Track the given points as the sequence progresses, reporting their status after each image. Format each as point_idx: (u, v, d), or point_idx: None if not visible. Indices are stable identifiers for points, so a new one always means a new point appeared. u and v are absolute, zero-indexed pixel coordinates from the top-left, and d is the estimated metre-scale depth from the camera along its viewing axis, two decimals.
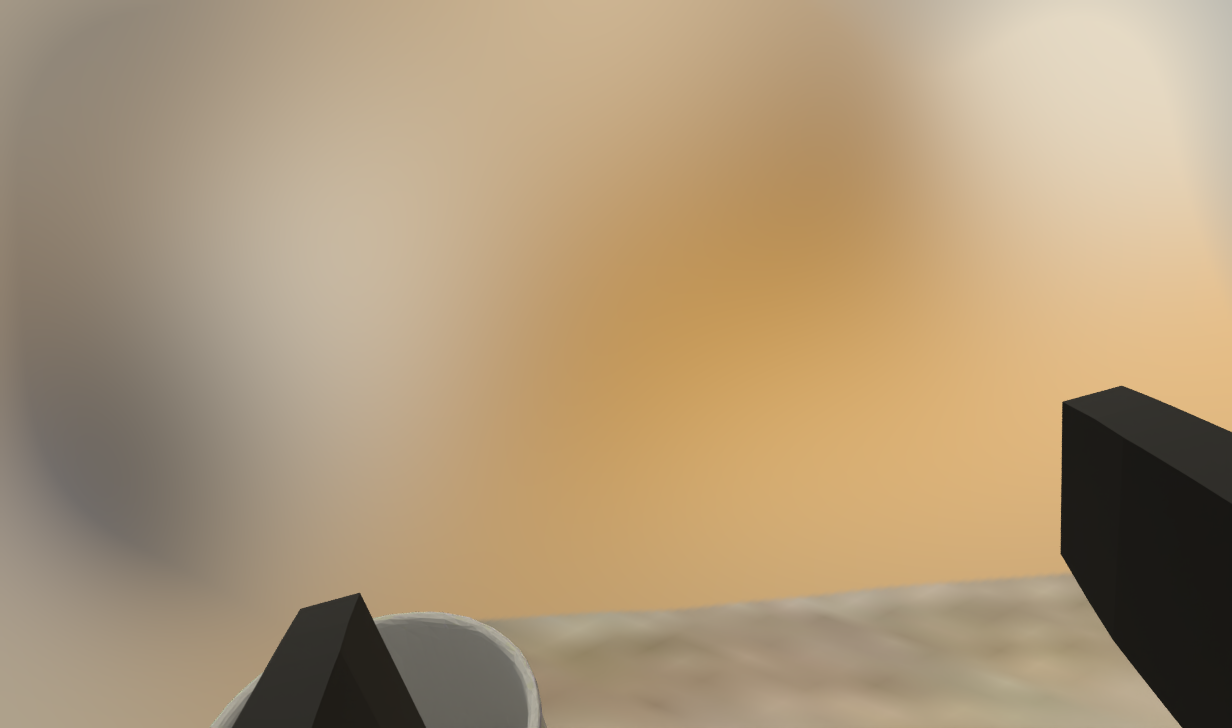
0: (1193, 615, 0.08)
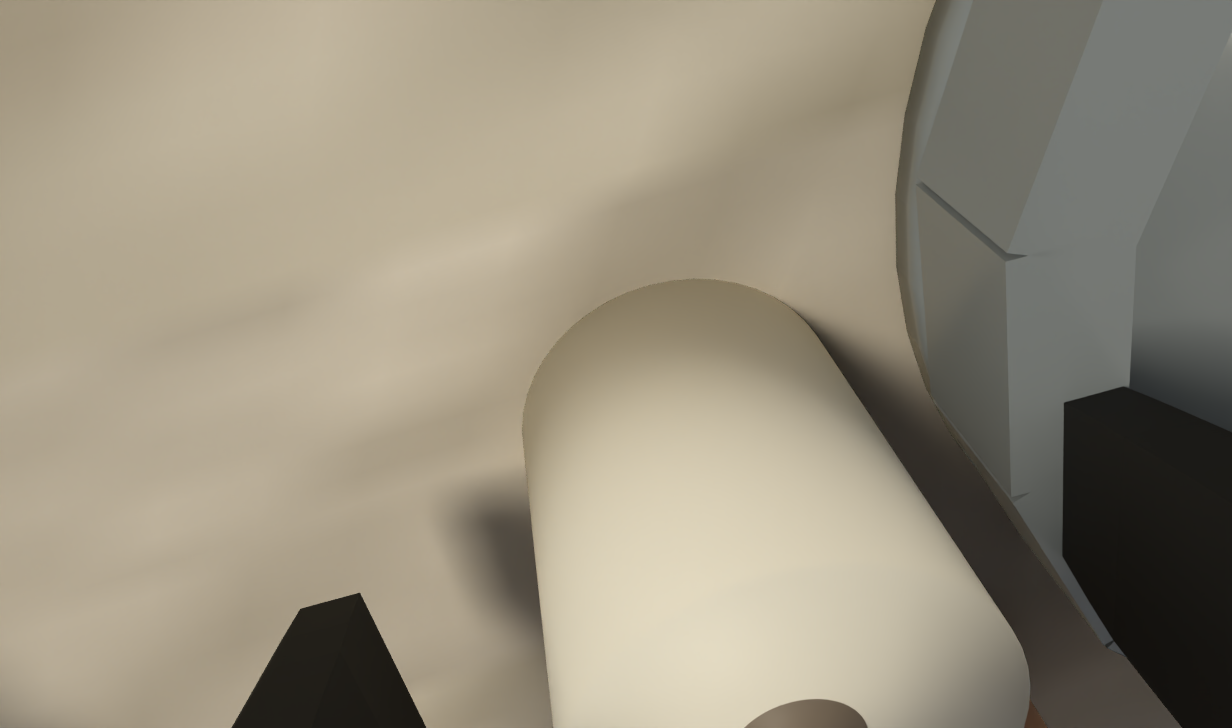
0: (1195, 616, 0.08)
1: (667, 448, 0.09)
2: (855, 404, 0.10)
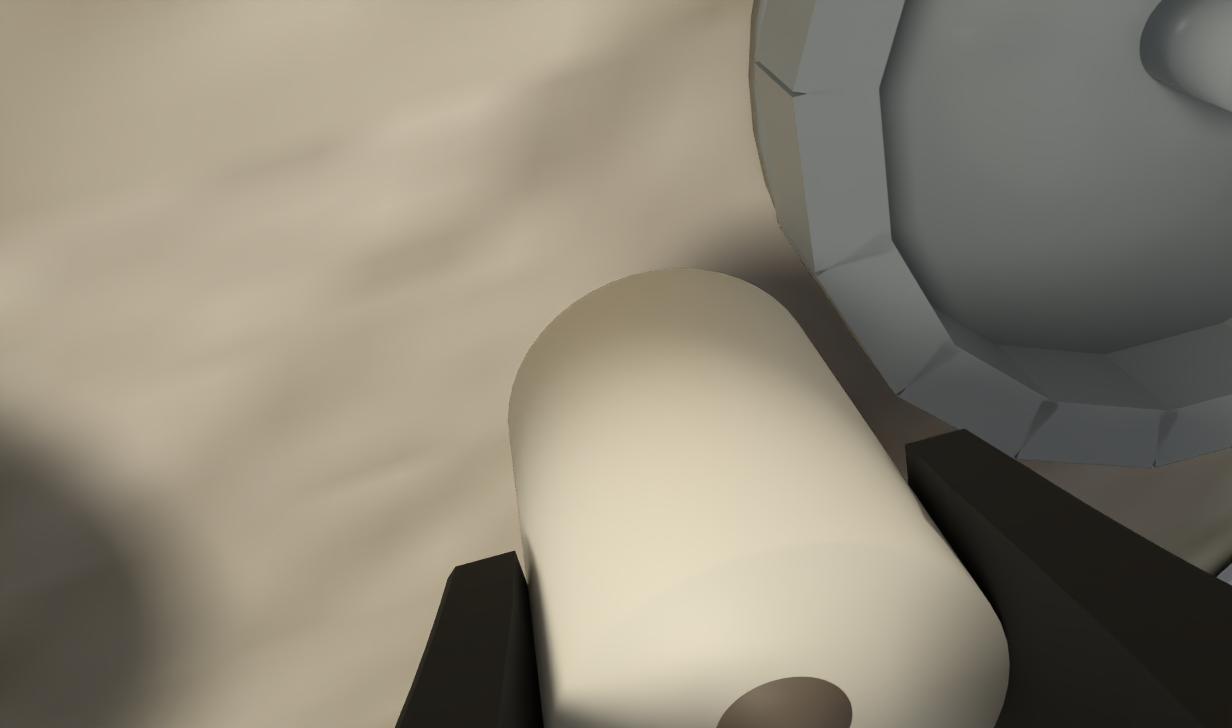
0: (1014, 665, 0.08)
1: (652, 432, 0.09)
2: (837, 390, 0.10)
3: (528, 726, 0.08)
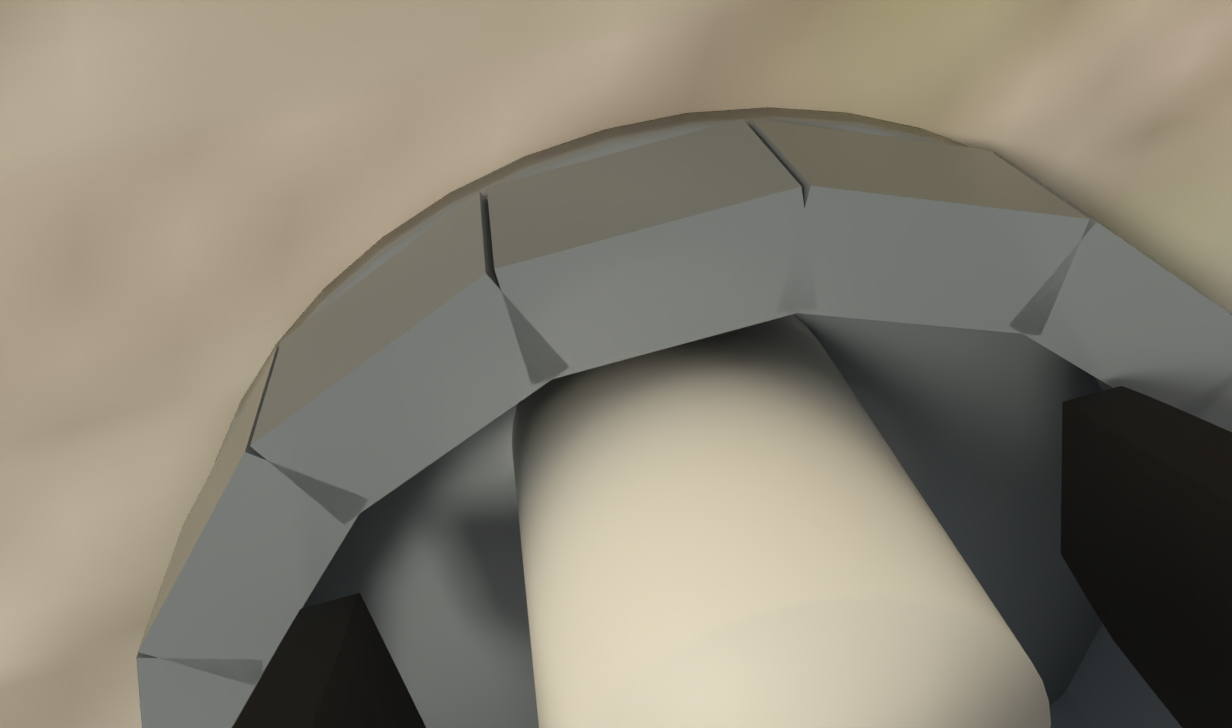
0: (1195, 617, 0.08)
1: (663, 467, 0.08)
2: (861, 417, 0.10)
3: None
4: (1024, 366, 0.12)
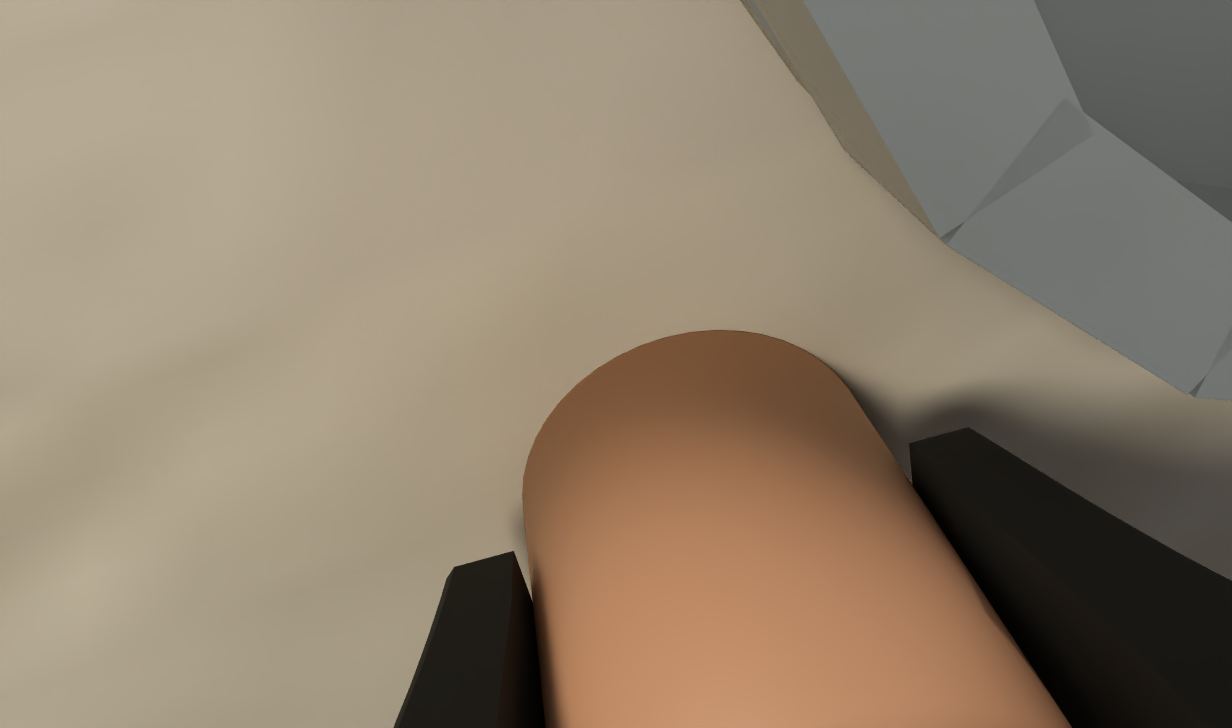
0: None
1: None
2: None
3: (527, 726, 0.08)
4: None
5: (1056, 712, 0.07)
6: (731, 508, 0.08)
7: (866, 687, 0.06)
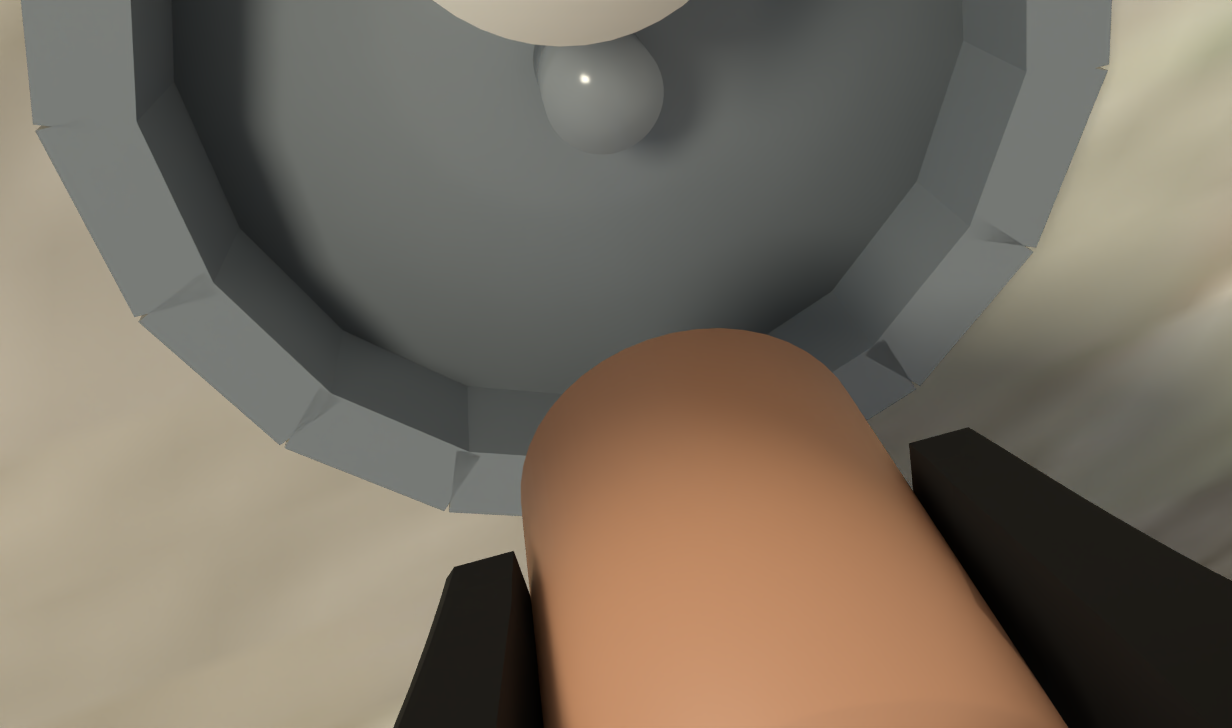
0: None
1: None
2: None
3: (527, 726, 0.08)
4: None
5: (1054, 710, 0.07)
6: (740, 500, 0.08)
7: (876, 677, 0.06)
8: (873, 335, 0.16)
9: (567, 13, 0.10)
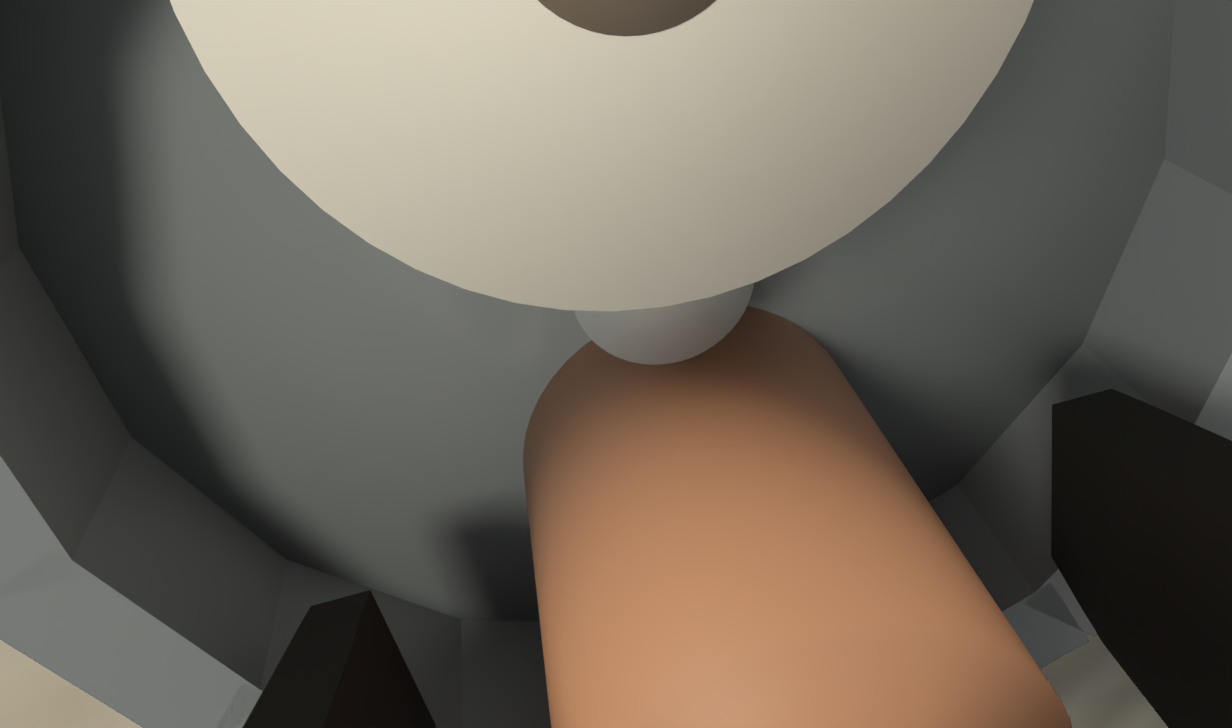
0: (1182, 619, 0.08)
1: None
2: None
3: None
4: None
5: (1023, 646, 0.08)
6: (731, 454, 0.09)
7: (854, 610, 0.07)
8: (1034, 574, 0.11)
9: (630, 255, 0.05)
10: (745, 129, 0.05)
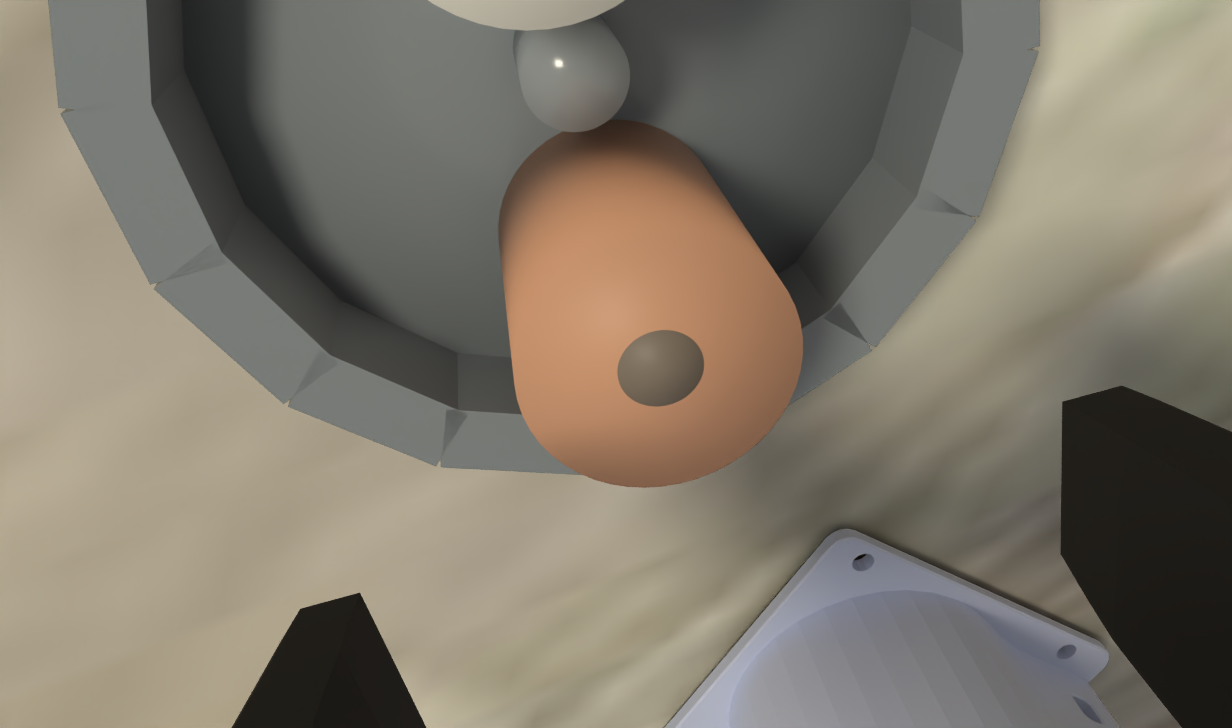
0: (1194, 616, 0.08)
1: None
2: None
3: None
4: None
5: (769, 264, 0.14)
6: (615, 177, 0.15)
7: (665, 226, 0.13)
8: (831, 300, 0.17)
9: (532, 1, 0.11)
10: None
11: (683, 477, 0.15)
